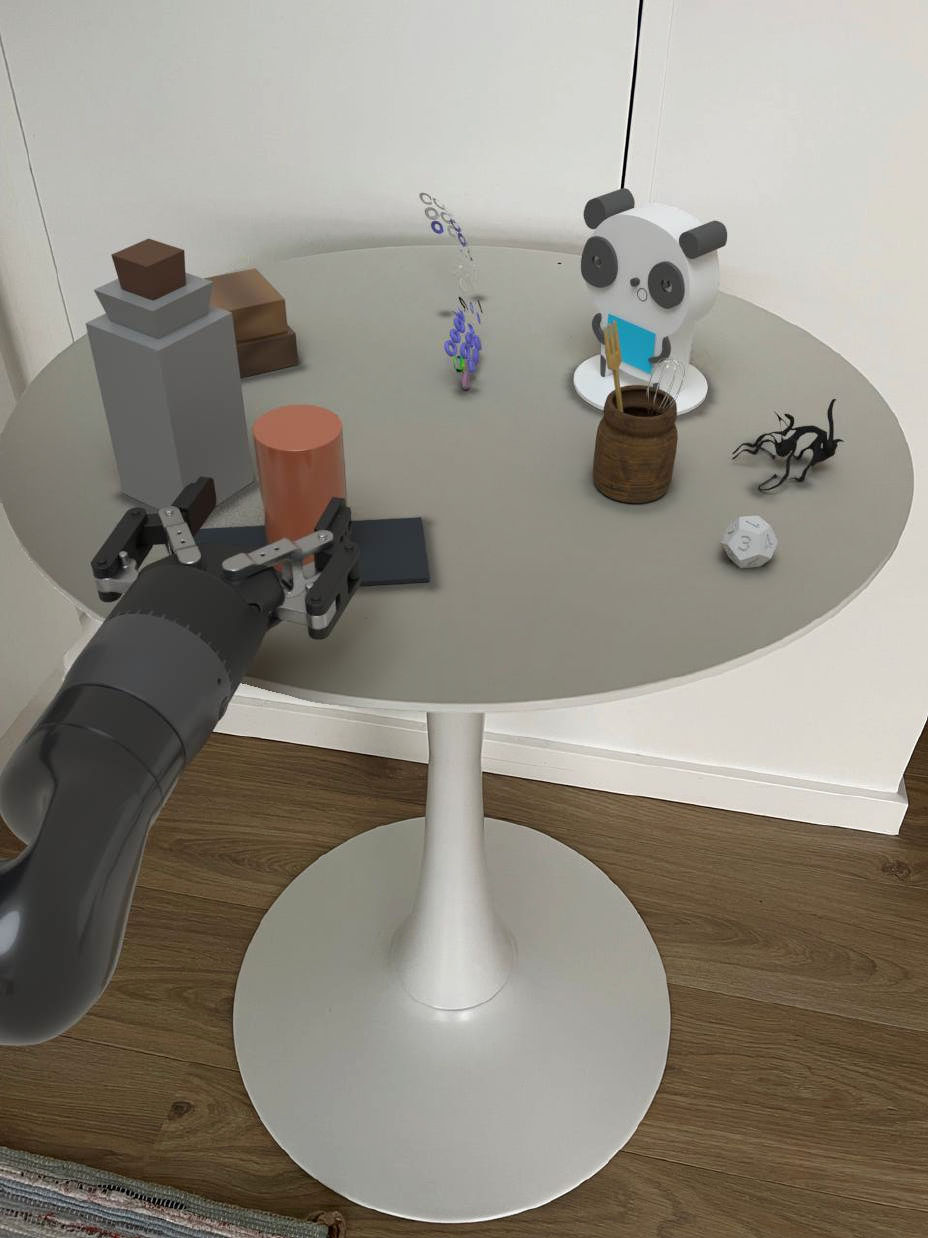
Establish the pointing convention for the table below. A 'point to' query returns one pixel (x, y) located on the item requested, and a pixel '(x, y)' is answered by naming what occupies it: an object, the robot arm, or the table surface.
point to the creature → (791, 445)
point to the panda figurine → (648, 294)
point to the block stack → (256, 321)
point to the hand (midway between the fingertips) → (274, 498)
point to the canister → (298, 469)
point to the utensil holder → (635, 435)
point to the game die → (749, 541)
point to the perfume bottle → (169, 378)
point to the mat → (384, 548)
